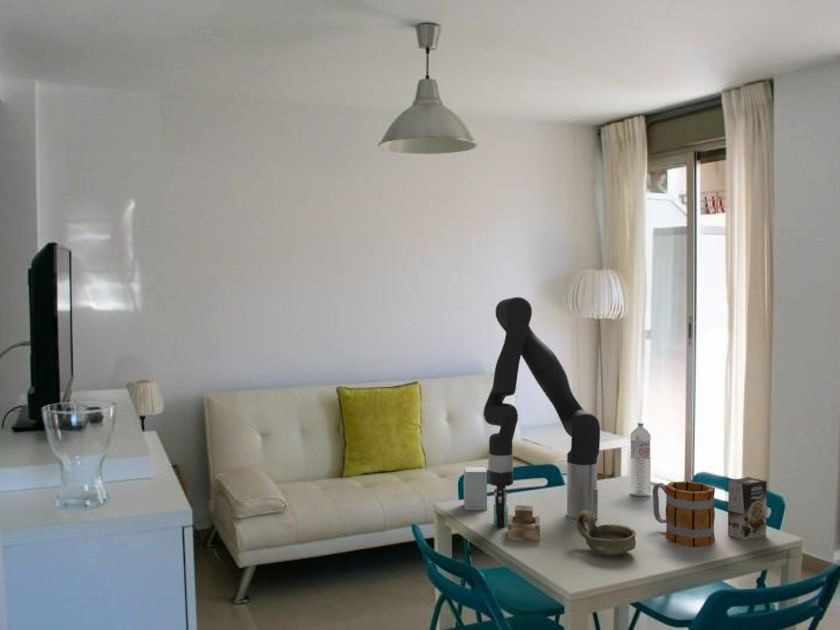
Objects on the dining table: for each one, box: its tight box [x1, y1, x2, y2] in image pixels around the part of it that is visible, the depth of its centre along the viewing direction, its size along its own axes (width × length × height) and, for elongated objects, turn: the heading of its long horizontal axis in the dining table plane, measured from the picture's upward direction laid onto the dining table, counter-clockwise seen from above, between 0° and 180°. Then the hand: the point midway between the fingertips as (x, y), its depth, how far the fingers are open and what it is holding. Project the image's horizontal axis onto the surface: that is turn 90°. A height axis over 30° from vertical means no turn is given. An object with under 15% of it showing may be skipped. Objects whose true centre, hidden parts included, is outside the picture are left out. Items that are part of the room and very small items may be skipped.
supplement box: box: [463, 466, 488, 511], centre depth 248 cm, size 7×7×13 cm
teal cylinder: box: [493, 503, 509, 528], centre depth 229 cm, size 4×4×6 cm
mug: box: [652, 480, 716, 548], centre depth 218 cm, size 20×14×15 cm
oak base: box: [507, 514, 541, 542], centre depth 219 cm, size 9×9×4 cm
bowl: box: [575, 510, 637, 556], centre depth 205 cm, size 14×18×10 cm
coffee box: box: [727, 476, 768, 541], centre depth 218 cm, size 9×6×16 cm
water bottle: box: [629, 422, 652, 497], centre depth 263 cm, size 7×7×25 cm
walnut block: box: [514, 505, 534, 524], centre depth 219 cm, size 5×5×5 cm
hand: (500, 523), depth 229 cm, fingers closed on teal cylinder, 4 cm apart
